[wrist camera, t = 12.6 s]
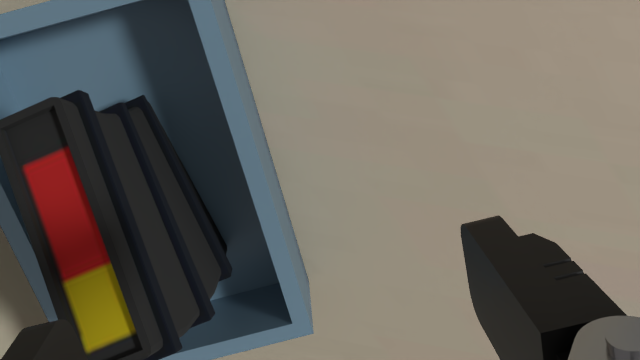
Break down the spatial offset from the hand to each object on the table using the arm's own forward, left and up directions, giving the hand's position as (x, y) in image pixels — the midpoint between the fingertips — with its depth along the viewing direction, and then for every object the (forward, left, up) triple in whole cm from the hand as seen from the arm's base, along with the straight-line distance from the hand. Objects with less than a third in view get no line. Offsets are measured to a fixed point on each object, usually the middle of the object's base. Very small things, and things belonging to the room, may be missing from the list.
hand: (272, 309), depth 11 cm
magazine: (+3, -8, -24) cm, 25 cm away
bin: (+3, -9, -24) cm, 26 cm away
